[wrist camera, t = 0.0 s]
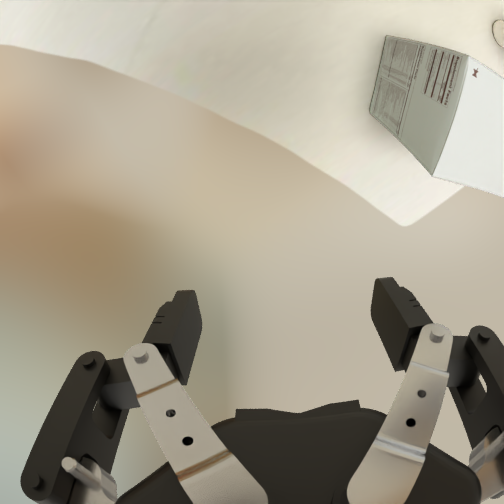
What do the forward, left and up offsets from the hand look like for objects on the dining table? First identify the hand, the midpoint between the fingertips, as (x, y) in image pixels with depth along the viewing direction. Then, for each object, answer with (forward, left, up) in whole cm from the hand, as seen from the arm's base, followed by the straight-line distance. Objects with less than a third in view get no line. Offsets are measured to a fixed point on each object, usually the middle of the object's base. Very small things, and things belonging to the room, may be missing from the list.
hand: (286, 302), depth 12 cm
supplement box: (+13, +20, -32) cm, 40 cm away
